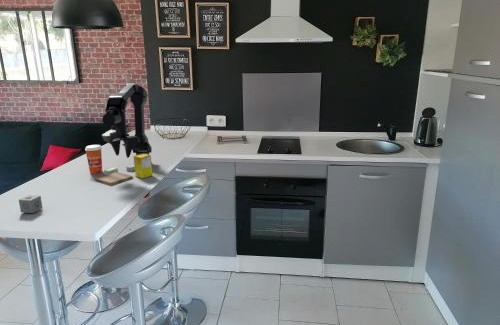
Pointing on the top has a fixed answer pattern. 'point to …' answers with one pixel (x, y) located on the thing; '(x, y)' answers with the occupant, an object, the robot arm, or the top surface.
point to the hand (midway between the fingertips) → (122, 156)
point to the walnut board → (113, 178)
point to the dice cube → (30, 204)
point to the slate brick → (130, 168)
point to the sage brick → (110, 171)
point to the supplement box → (143, 166)
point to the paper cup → (94, 158)
